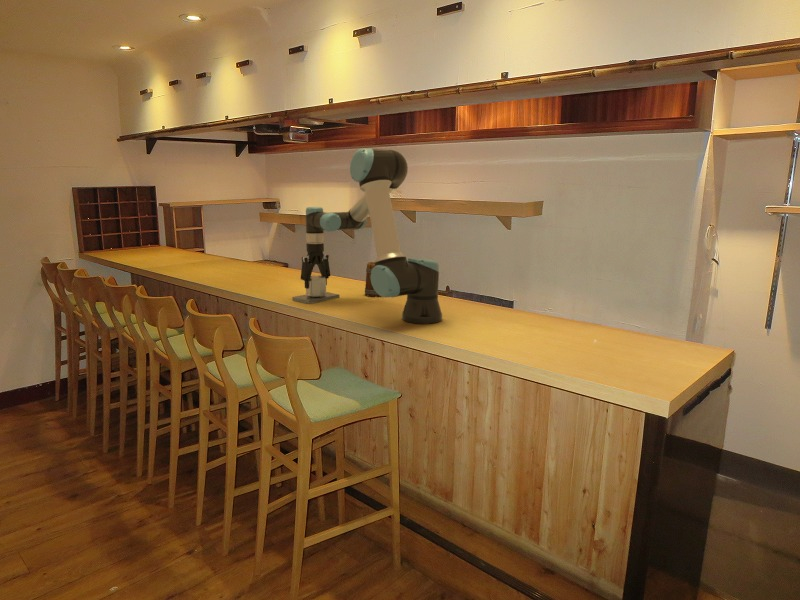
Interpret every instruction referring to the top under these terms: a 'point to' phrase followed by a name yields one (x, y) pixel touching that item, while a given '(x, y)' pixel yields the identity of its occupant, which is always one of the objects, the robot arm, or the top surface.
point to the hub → (318, 286)
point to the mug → (369, 288)
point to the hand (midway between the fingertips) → (316, 294)
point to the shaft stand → (311, 299)
